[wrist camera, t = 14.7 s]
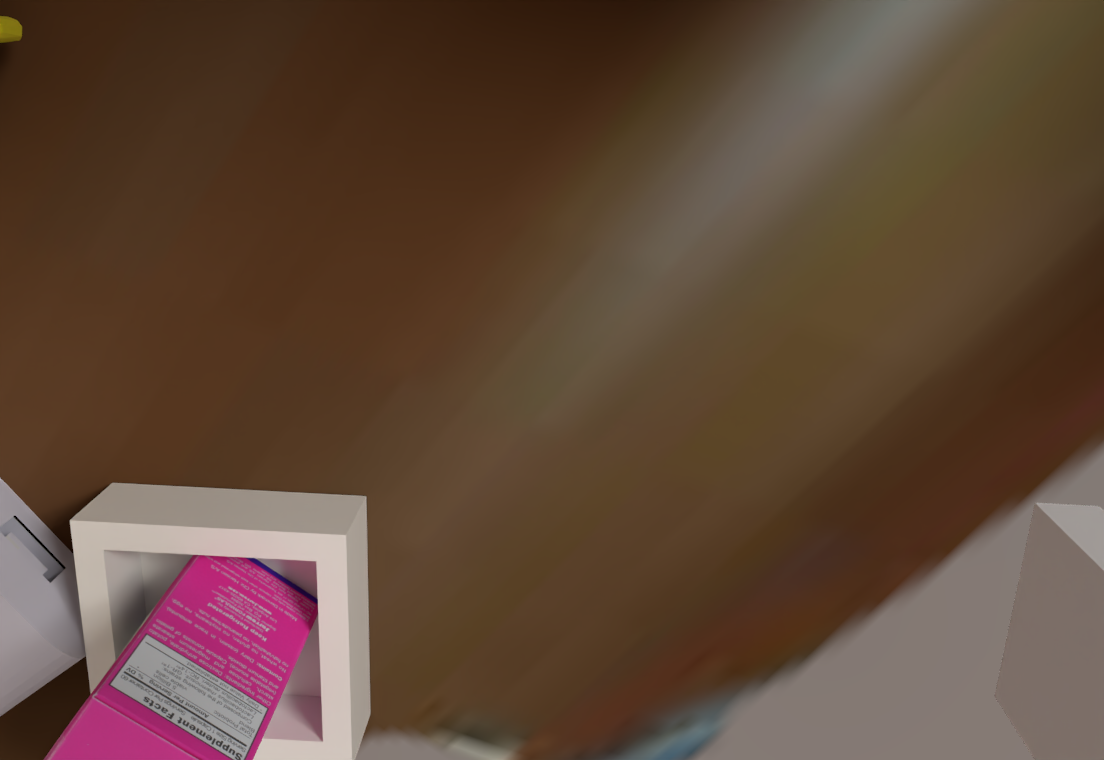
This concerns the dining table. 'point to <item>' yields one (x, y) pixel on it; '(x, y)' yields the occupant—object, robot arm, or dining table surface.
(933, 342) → the dining table surface
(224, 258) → the dining table surface
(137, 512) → the white shadow box frame
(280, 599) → the supplement box
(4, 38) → the yellow honey pot
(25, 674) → the charger
